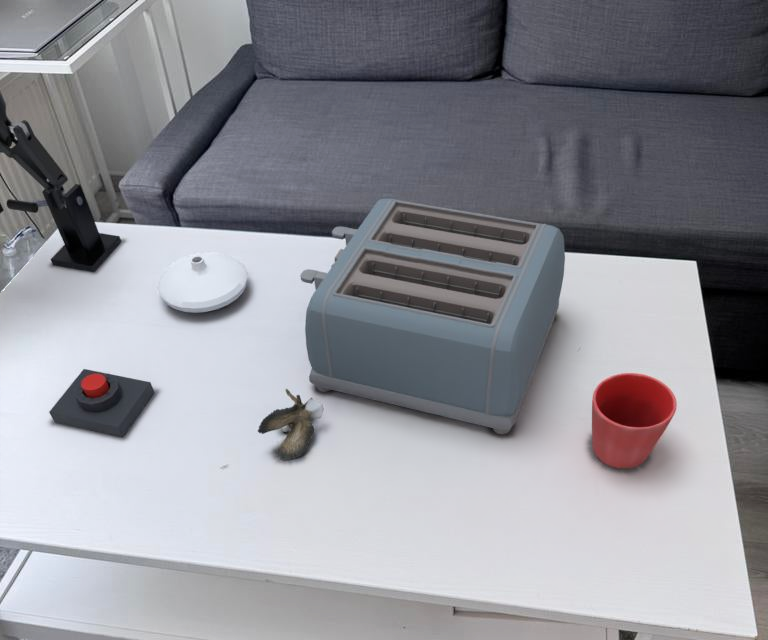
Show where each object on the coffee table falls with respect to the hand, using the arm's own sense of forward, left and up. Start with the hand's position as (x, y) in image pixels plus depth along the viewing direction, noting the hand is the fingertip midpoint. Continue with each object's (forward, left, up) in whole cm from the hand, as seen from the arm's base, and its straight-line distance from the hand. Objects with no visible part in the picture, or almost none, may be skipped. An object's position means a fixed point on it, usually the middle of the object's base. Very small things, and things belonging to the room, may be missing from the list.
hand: (30, 219), depth 126 cm
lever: (0, +4, -1) cm, 5 cm away
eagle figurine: (+56, -24, -13) cm, 62 cm away
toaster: (+70, 0, -13) cm, 71 cm away
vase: (+28, +4, -13) cm, 31 cm away
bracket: (0, +10, -13) cm, 16 cm away
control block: (+25, -26, -13) cm, 38 cm away
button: (+25, -26, -9) cm, 37 cm away
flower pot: (+102, -14, -13) cm, 104 cm away
